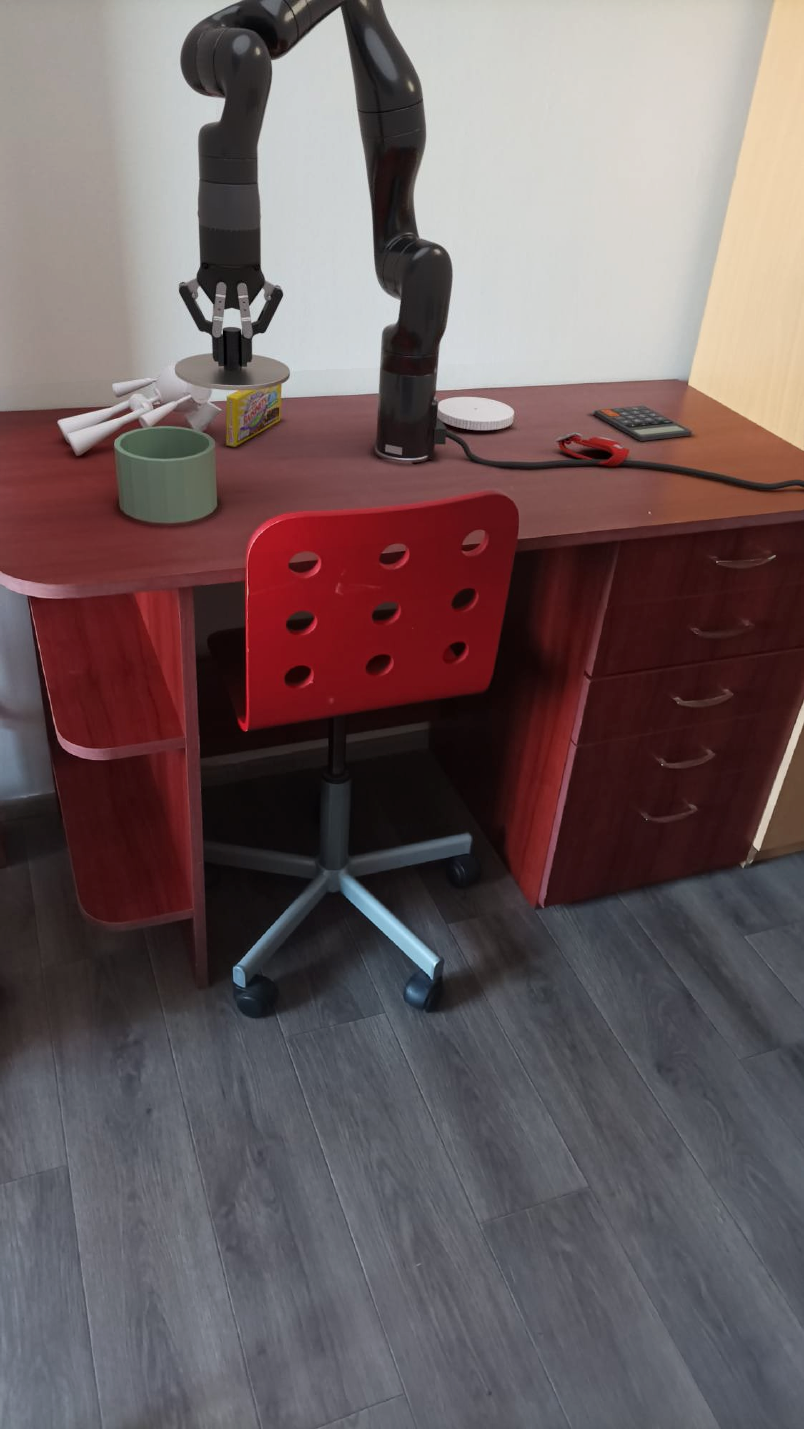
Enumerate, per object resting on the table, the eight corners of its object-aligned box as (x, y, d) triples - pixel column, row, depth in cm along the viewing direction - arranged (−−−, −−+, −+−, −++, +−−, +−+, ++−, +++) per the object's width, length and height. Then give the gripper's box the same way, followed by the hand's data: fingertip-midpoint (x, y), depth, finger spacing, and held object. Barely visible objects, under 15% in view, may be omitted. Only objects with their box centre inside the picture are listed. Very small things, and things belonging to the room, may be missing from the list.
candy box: (236, 448, 170) (235, 398, 166) (225, 446, 171) (223, 396, 166) (282, 421, 183) (282, 373, 178) (271, 418, 184) (271, 371, 179)
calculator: (643, 404, 201) (692, 430, 190) (643, 409, 202) (691, 435, 191) (594, 409, 197) (641, 435, 186) (593, 414, 197) (640, 441, 186)
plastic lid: (525, 422, 191) (527, 408, 190) (489, 441, 181) (491, 427, 180) (459, 405, 197) (461, 391, 196) (421, 423, 187) (422, 409, 186)
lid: (284, 362, 145) (284, 316, 142) (295, 396, 133) (295, 346, 129) (174, 360, 142) (172, 313, 139) (175, 394, 130) (172, 343, 127)
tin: (215, 488, 156) (213, 426, 151) (218, 526, 145) (216, 460, 140) (122, 488, 154) (116, 425, 148) (118, 527, 143) (111, 461, 137)
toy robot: (103, 505, 163) (245, 440, 169) (69, 435, 155) (219, 369, 160) (75, 464, 177) (207, 405, 182) (42, 397, 168) (181, 337, 174)
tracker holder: (612, 439, 183) (644, 445, 174) (606, 465, 184) (637, 472, 175) (554, 426, 178) (583, 432, 169) (547, 453, 179) (577, 459, 170)
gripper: (171, 224, 123) (178, 372, 132) (289, 229, 125) (288, 374, 135) (171, 213, 129) (178, 356, 138) (283, 218, 131) (283, 358, 141)
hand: (232, 364), depth 137 cm, fingers closed on lid, 2 cm apart
